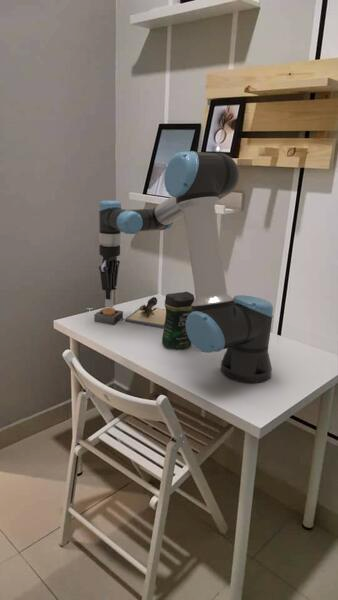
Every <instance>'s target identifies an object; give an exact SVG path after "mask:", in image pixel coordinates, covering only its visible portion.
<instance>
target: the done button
mask: <svg viewBox="0 0 338 600" xmlns="http://www.w3.org/2000/svg"><path fill="white" fill-rule="evenodd" d="M102 309H103V308H102ZM115 310H116V309H115V308H114V307H112V308H110V307H104V309H103V315H109V316H113V315H115Z"/></svg>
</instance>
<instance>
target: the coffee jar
mask: <svg viewBox="0 0 338 600" xmlns="http://www.w3.org/2000/svg"><path fill="white" fill-rule="evenodd" d="M194 300H195V296H194V294H192V292H189V291H183V292H175V293H167V294H166V295H165V299H164V309H165V310H166V318H165V325H164V329H163V332H162V338H161V339H162V340H161V344H162V345H163V347H165V348H166V349H170V350H173V351H174V350H175V351H177V350H182V349H183V350H184V349H188V348H190V347H191V345H192V343H191V341H190V340H189V338H188V335H187V332H186V320H187V317H188V315H189V314H191V313H192V303H193V302H194Z"/></svg>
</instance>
